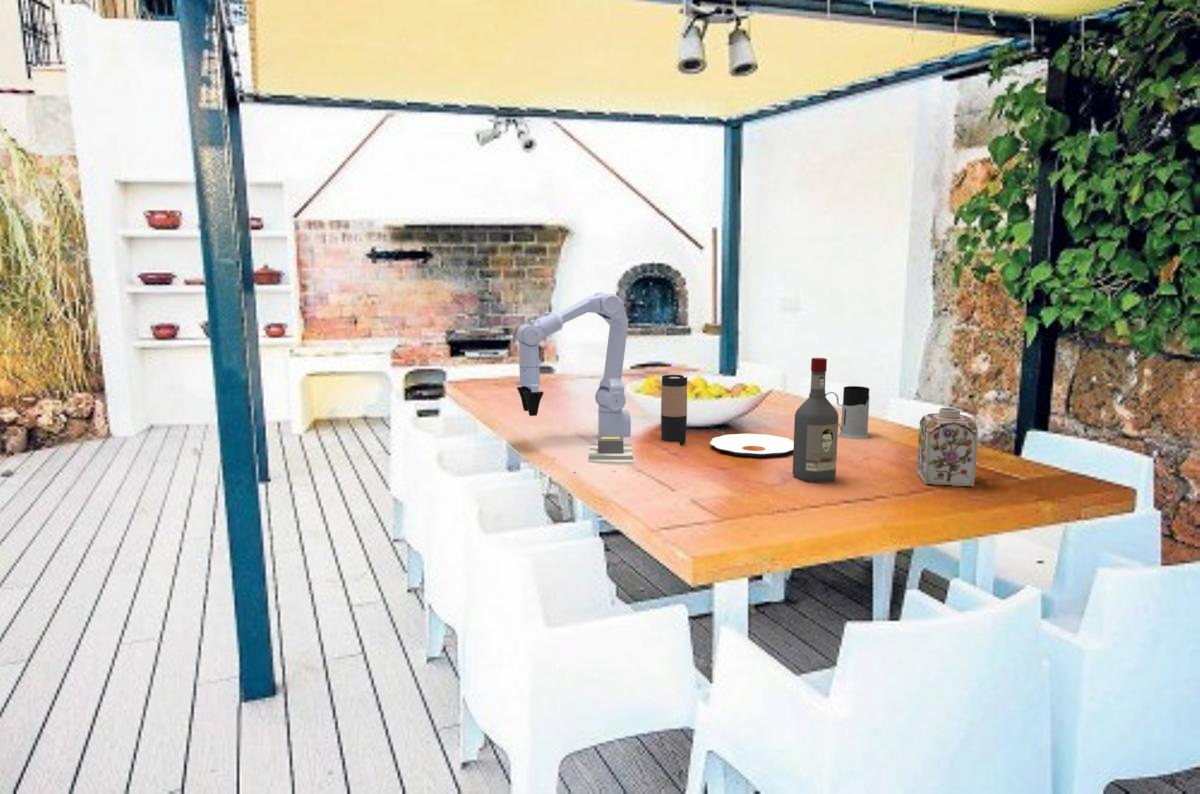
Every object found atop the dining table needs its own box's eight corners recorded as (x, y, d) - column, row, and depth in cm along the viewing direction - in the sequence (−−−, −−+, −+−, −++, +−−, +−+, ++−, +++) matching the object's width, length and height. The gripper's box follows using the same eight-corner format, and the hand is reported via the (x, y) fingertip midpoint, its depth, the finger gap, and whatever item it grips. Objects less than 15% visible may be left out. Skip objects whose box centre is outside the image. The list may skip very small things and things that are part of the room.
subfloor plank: (589, 448, 237) (589, 443, 237) (631, 448, 237) (631, 444, 237) (588, 469, 213) (588, 464, 213) (634, 469, 213) (634, 464, 213)
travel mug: (657, 444, 241) (658, 377, 238) (665, 439, 248) (665, 374, 245) (682, 446, 238) (683, 379, 235) (689, 441, 245) (690, 375, 242)
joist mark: (588, 460, 223) (588, 456, 222) (632, 460, 223) (632, 456, 222) (588, 464, 219) (588, 459, 218) (633, 464, 219) (633, 459, 218)
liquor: (787, 474, 208) (792, 357, 203) (817, 471, 211) (823, 355, 206) (809, 483, 199) (815, 361, 194) (840, 480, 203) (846, 360, 198)
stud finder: (598, 449, 230) (598, 436, 230) (623, 449, 230) (623, 436, 230) (598, 453, 225) (598, 440, 225) (623, 453, 225) (623, 440, 225)
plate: (743, 436, 254) (743, 430, 254) (815, 449, 236) (815, 442, 236) (692, 449, 237) (692, 442, 236) (765, 464, 219) (765, 457, 219)
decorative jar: (964, 475, 207) (969, 405, 204) (975, 488, 196) (981, 414, 193) (914, 472, 210) (919, 403, 207) (922, 485, 198) (927, 412, 195)
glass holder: (872, 439, 248) (875, 390, 246) (825, 438, 249) (827, 390, 246) (863, 433, 257) (866, 385, 254) (818, 432, 257) (820, 385, 255)
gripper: (510, 364, 240) (511, 409, 242) (520, 370, 226) (521, 418, 229) (534, 363, 242) (535, 408, 244) (545, 369, 228) (546, 417, 231)
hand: (530, 413), depth 237 cm, fingers open, 7 cm apart
